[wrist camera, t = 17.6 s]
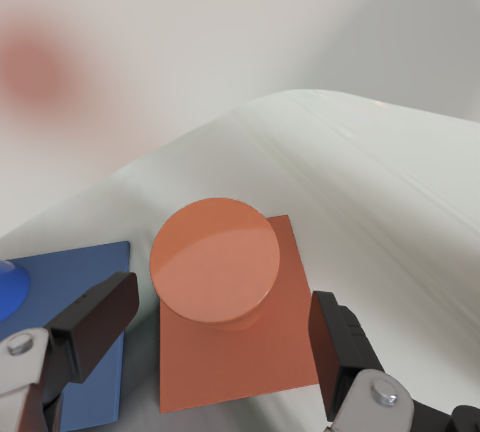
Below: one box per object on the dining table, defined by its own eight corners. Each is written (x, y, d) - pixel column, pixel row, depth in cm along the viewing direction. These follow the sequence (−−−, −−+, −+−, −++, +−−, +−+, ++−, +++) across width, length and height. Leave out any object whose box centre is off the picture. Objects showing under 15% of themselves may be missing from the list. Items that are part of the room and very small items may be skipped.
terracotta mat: (287, 217, 23) (287, 214, 22) (333, 379, 16) (336, 380, 16) (162, 237, 22) (160, 235, 22) (162, 411, 16) (159, 413, 15)
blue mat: (130, 242, 22) (127, 240, 21) (118, 420, 16) (113, 422, 15) (-12, 266, 22) (-19, 264, 21) (-81, 457, 15) (-93, 461, 15)
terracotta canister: (258, 262, 20) (264, 189, 10) (271, 327, 18) (295, 309, 8) (199, 272, 20) (150, 207, 10) (205, 338, 17) (146, 336, 8)
